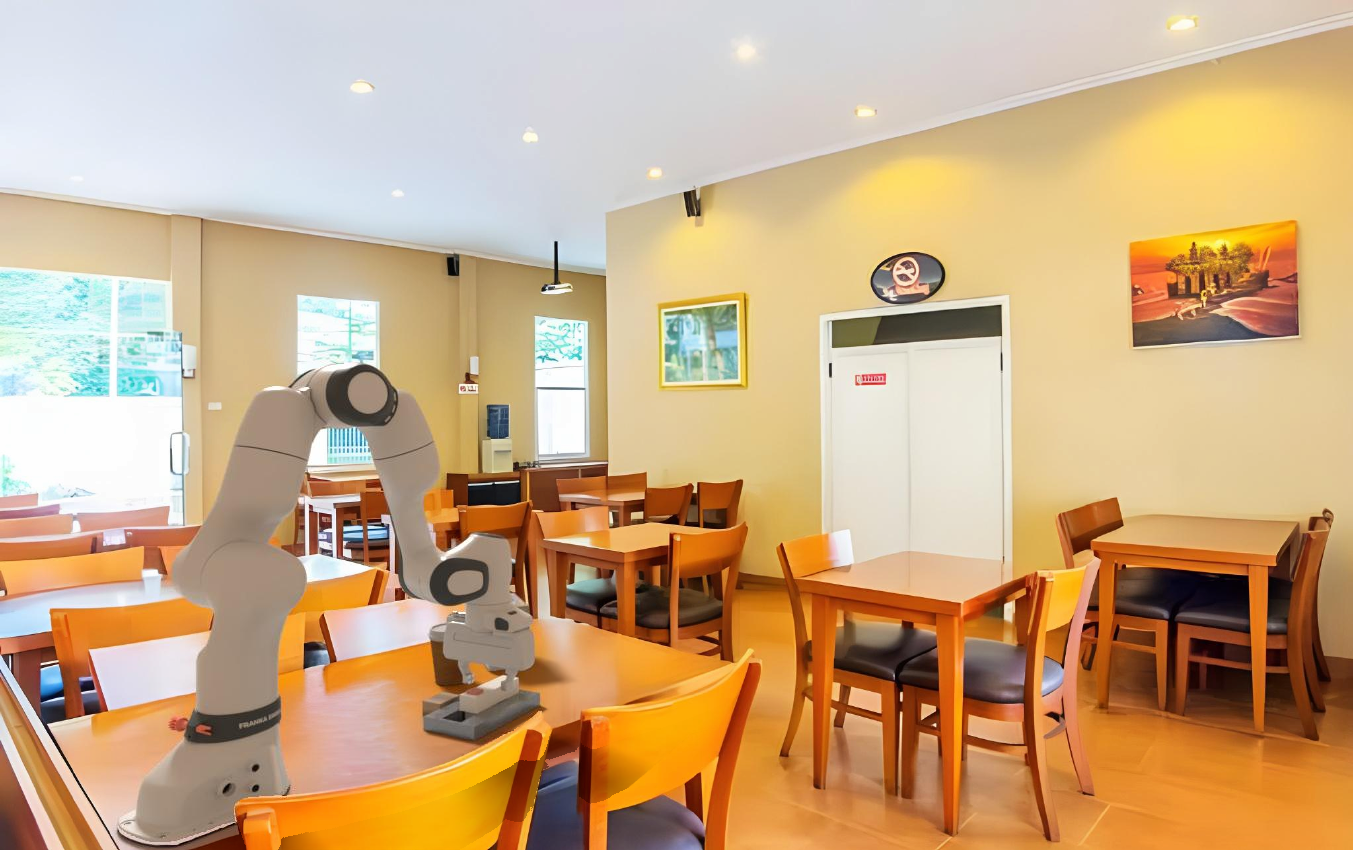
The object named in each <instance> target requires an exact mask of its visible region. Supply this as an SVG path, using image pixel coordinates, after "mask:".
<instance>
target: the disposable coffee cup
mask: <svg viewBox="0 0 1353 850" xmlns="http://www.w3.org/2000/svg"><path fill="white" fill-rule="evenodd" d="M445 630H446V622H441V623H437V624H435V625H432V626H430V627H429V631H428V633H427V636H428V638H429V641H430V648H431V655H432V656H431V657H432V664H433V672H434V680H435V684H437V685H439V686H455V685H460V684H462V683H463V675H462V673H461V671H460V669H459V666H458V660H454V659H448V658H446V657H445V655H444V653H443V643H444V635H445Z"/></svg>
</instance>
